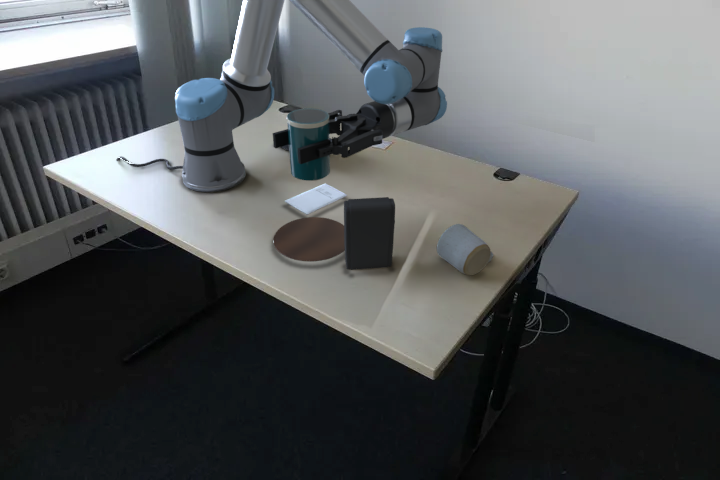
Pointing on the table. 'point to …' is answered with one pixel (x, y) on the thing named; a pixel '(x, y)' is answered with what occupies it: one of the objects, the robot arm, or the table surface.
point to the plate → (310, 239)
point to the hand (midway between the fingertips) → (286, 148)
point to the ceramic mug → (464, 249)
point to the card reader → (369, 232)
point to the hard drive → (315, 198)
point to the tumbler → (308, 142)
